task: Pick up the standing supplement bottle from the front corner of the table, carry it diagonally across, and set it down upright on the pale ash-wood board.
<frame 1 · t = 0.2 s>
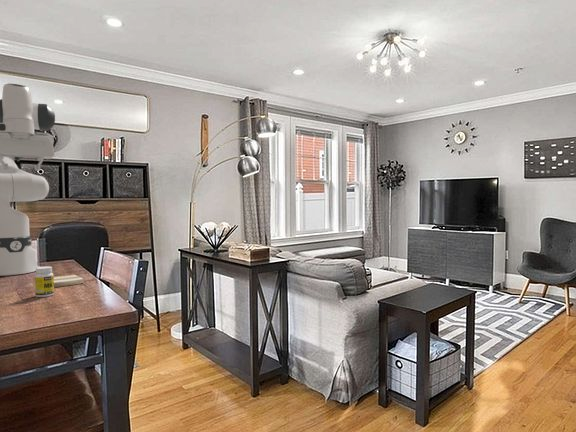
hand: (21, 169, 136), 39 cm above the table, tool pointing down, fingers open, 8 cm apart
supplement bottle: (44, 296, 117), on the table
ash board: (61, 283, 134), on the table
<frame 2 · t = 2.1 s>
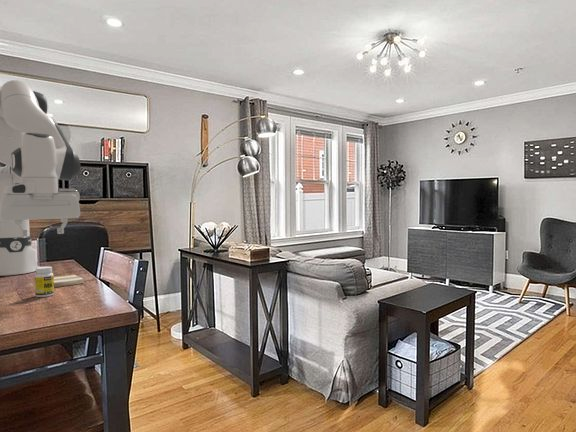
hand: (42, 234, 116), 18 cm above the table, tool pointing down, fingers open, 8 cm apart
nothing on the table moved.
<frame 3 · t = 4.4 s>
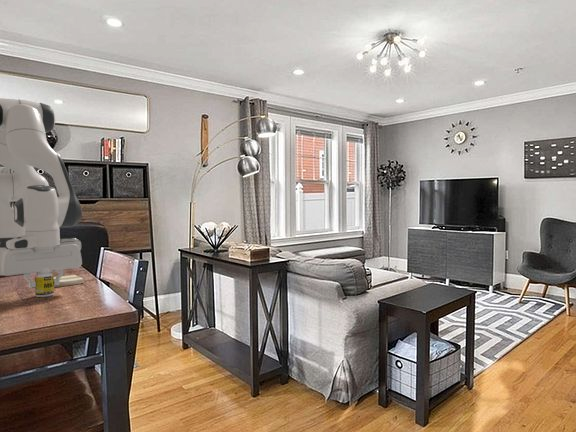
hand: (44, 286, 117), 3 cm above the table, tool pointing down, fingers closed on supplement bottle, 5 cm apart
supplement bottle: (44, 296, 117), on the table, touching gripper
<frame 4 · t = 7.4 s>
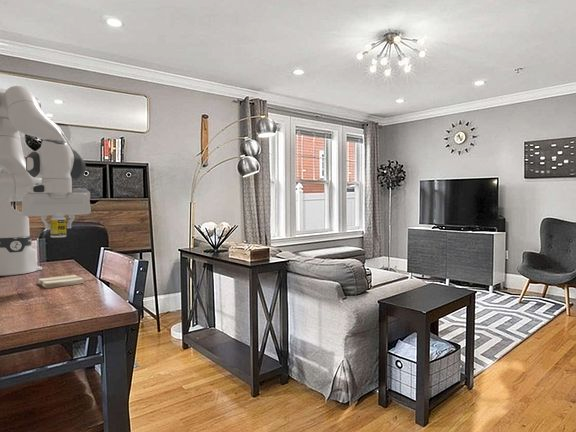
hand: (58, 228, 134), 19 cm above the table, tool pointing down, fingers closed on supplement bottle, 5 cm apart
supplement bottle: (58, 237, 134), point 16 cm above the table, touching gripper
when the fingers open (6 cm above the table, at t = 10.7 s): supplement bottle drops 2 cm, resting on ash board.
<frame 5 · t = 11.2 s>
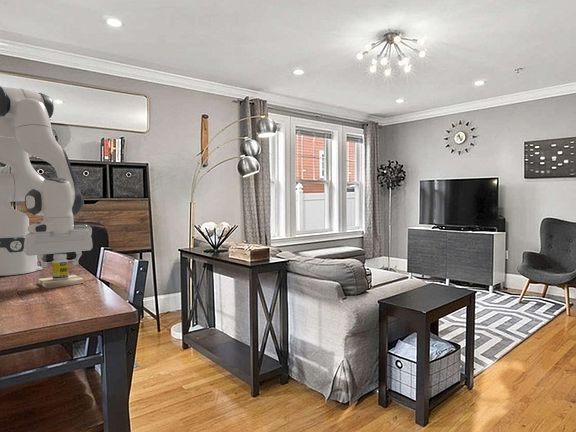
hand: (60, 266, 134), 6 cm above the table, tool pointing down, fingers open, 8 cm apart
supplement bottle: (60, 279, 134), point 1 cm above the table, touching ash board
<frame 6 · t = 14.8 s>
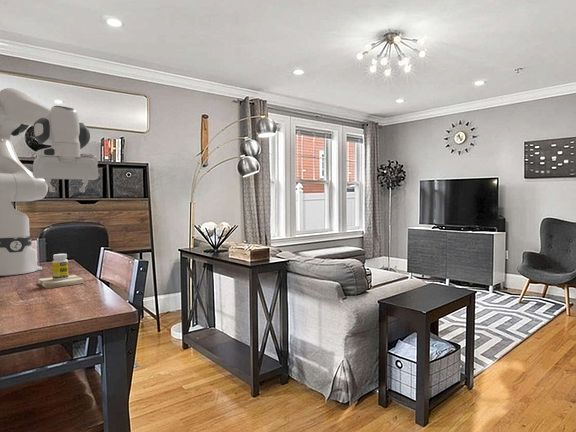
hand: (67, 192, 139), 31 cm above the table, tool pointing down, fingers open, 8 cm apart
nothing on the table moved.
at the end: supplement bottle inside the target area on the ash board (0.1 cm from its centre), point 1.3 cm above the ash board's base; supplement bottle tilted 0°; the gripper is holding nothing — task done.
